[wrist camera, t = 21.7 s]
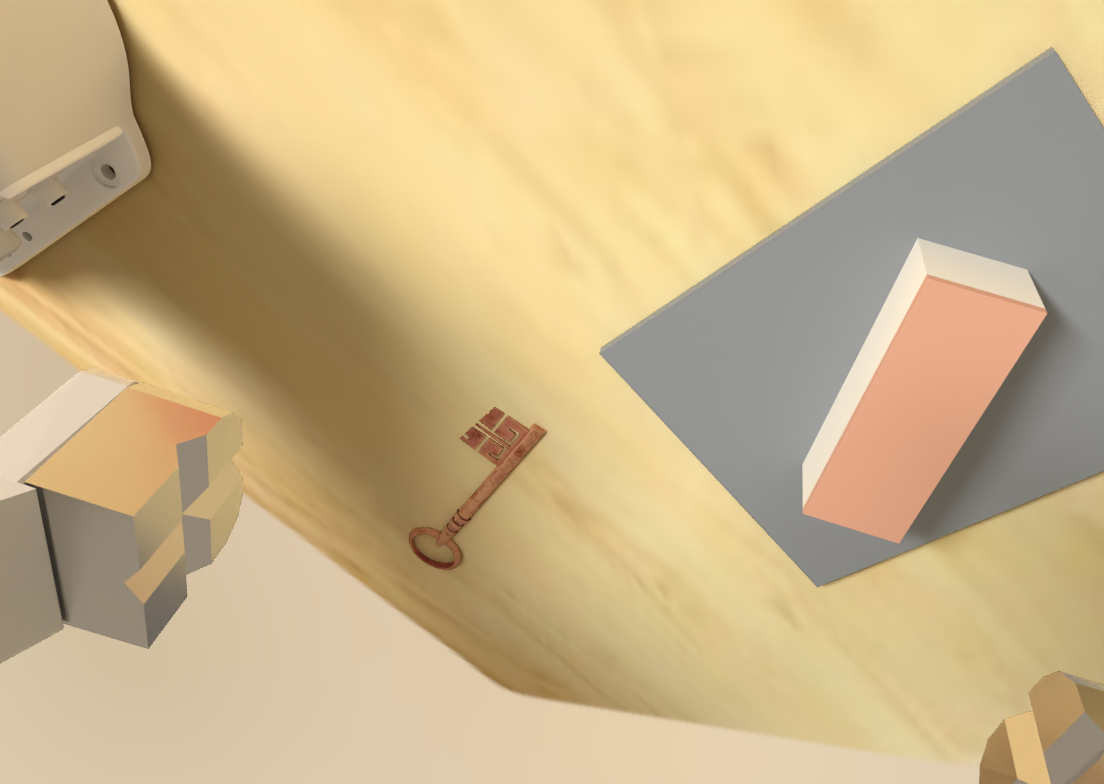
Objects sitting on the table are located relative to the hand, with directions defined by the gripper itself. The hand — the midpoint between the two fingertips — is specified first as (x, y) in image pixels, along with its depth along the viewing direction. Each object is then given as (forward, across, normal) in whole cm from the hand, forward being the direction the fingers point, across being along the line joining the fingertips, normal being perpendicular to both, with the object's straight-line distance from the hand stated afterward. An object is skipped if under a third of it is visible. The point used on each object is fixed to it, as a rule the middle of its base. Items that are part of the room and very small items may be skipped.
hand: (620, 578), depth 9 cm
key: (+34, +7, +33) cm, 48 cm away
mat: (+34, -14, +15) cm, 40 cm away
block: (+31, -13, +22) cm, 41 cm away
